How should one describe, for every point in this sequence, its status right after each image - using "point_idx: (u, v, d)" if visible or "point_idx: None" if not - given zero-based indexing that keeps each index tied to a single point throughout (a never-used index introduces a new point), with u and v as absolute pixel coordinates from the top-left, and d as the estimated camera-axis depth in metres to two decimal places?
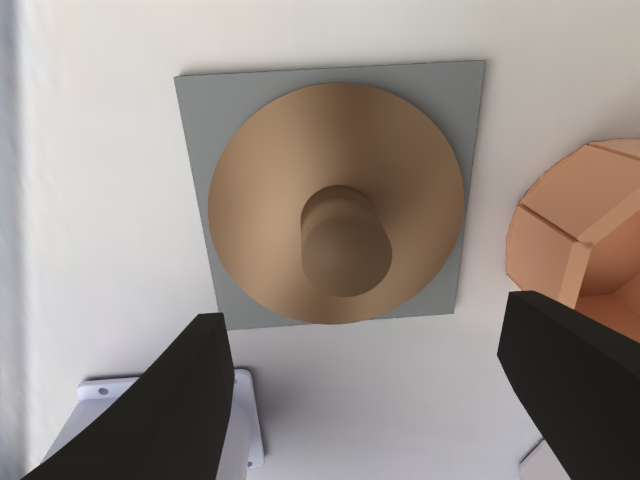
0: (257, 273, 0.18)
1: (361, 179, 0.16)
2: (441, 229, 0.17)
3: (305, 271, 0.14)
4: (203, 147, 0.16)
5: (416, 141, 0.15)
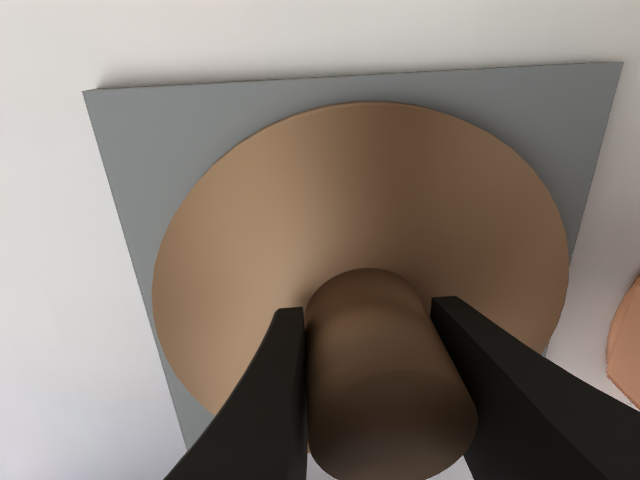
0: None
1: (404, 258, 0.10)
2: (526, 328, 0.11)
3: (315, 455, 0.07)
4: (143, 206, 0.10)
5: (500, 198, 0.09)
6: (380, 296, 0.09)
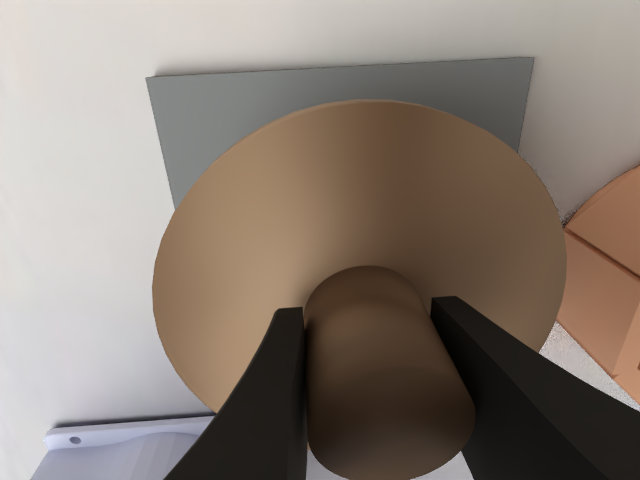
0: None
1: (403, 256, 0.10)
2: (524, 325, 0.11)
3: (314, 450, 0.07)
4: (184, 164, 0.13)
5: (499, 197, 0.09)
6: (379, 293, 0.09)
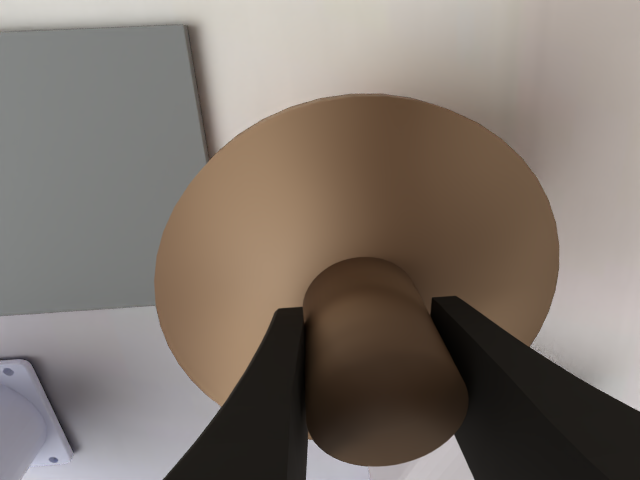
0: None
1: (399, 247, 0.10)
2: (518, 314, 0.11)
3: (313, 434, 0.08)
4: None
5: (491, 188, 0.09)
6: (375, 283, 0.09)
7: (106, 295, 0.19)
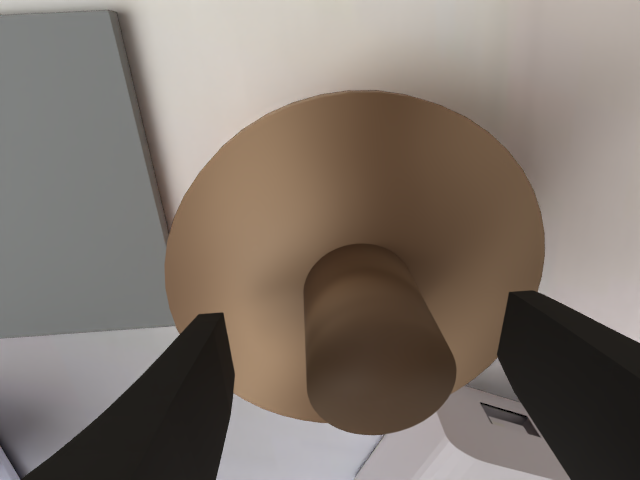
0: (242, 363, 0.12)
1: (394, 234, 0.11)
2: None
3: (313, 402, 0.08)
4: None
5: (480, 178, 0.10)
6: (371, 266, 0.10)
7: (45, 320, 0.17)
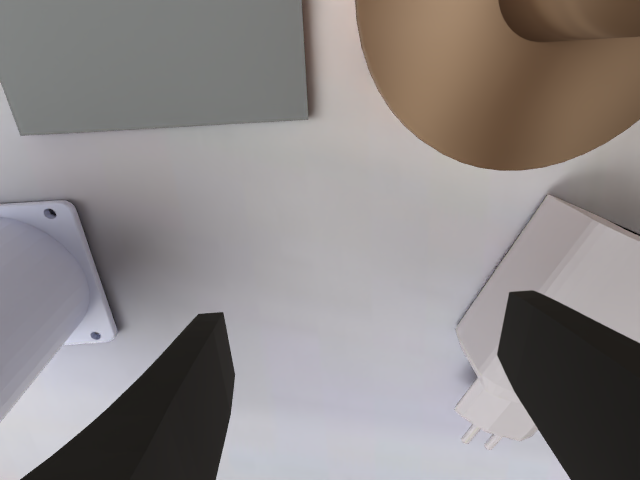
0: (417, 75, 0.12)
1: None
2: None
3: None
4: None
5: None
6: None
7: (167, 108, 0.16)
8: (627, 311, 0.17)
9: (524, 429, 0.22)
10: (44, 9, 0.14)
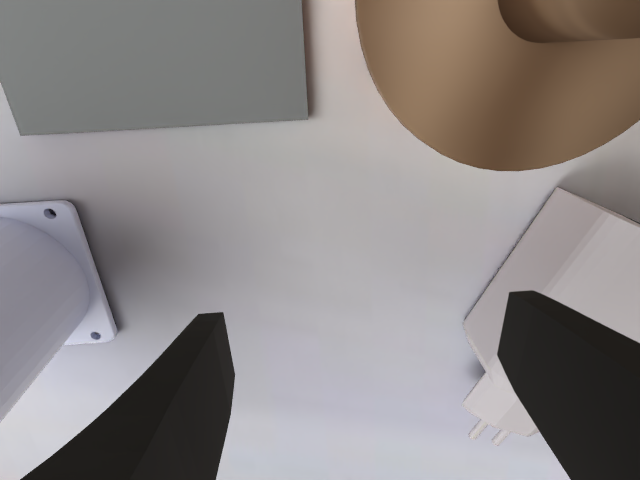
0: (416, 75, 0.12)
1: None
2: None
3: None
4: None
5: None
6: None
7: (167, 108, 0.16)
8: (638, 304, 0.17)
9: (532, 424, 0.22)
10: (44, 9, 0.14)
